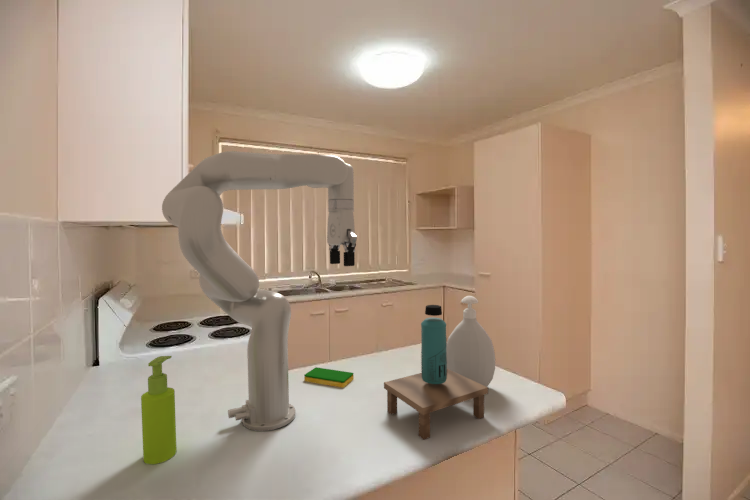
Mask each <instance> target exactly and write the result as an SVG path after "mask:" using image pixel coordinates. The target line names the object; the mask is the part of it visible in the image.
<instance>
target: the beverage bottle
mask: <svg viewBox="0 0 750 500" xmlns="http://www.w3.org/2000/svg"><path fill="white" fill-rule="evenodd" d="M442 310H443V309H442V306H441V305H439V304H427V305H426V306H425V310H424V314H425V315H427V316H431V317H426V318H425V319H424V320H422V321H421V323H420V327H421V329H420V330H421V333H420V334H421V352H420V364H421V367H420V368H421V373H422V375H421V376H422V380H423V381H424V382H426V383H430V384H442V383H444V382H445V381H446V379H447V350H446V346H447V341H448V337H447V323H446V321H444V319H443V318H440V317H439V316H442V315H443V314H442V313H443V312H442ZM436 316H438V317H436Z"/></svg>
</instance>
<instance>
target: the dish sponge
mask: <svg viewBox="0 0 750 500" xmlns="http://www.w3.org/2000/svg"><path fill="white" fill-rule="evenodd" d="M303 375H304V378H303V379H304V382H308V383H313V384H319V385H324V386H325V385H326V386H331V387H335V388H341V389H342V388H344V389H345V387H347V385H349V384H350V383H351V382H352V381H354V378H355V377H354V372H350V371H344V370H336V369H331V368H322V367H316V366H315V367H314V368H313V369H311V370H310V371H308V372H306V373H305V374H303Z"/></svg>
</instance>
